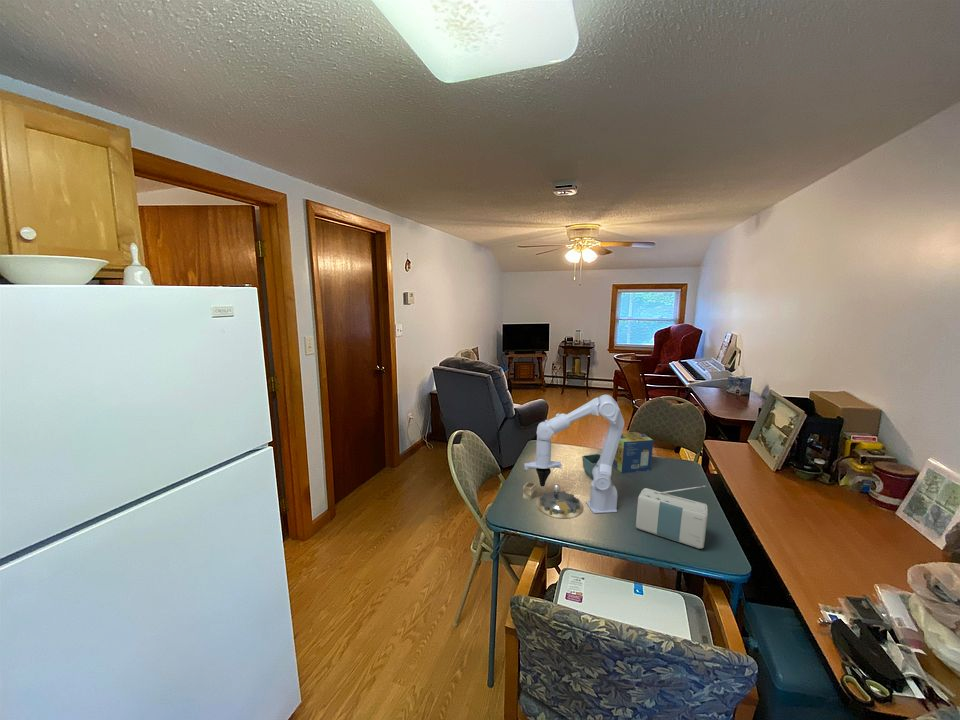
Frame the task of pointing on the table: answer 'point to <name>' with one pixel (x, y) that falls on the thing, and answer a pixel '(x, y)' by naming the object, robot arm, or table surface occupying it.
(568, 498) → the sprocket
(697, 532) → the stereo radio cassette player
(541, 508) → the sprocket base
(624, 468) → the protein box
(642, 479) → the table surface
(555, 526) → the table surface
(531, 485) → the link block
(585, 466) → the flower pot
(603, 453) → the robot arm
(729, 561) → the table surface
